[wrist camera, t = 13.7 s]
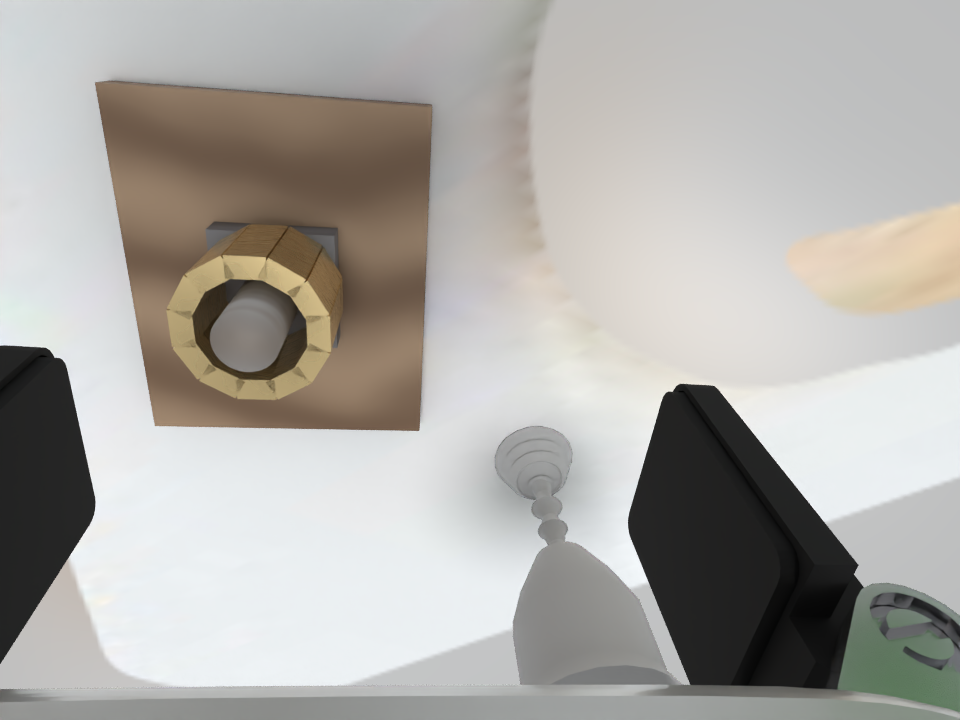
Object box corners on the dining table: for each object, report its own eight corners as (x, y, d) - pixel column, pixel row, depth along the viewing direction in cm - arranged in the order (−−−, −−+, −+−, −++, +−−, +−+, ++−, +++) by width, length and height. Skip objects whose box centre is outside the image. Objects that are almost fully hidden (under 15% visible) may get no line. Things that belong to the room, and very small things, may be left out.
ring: (196, 220, 30) (157, 252, 25) (341, 228, 31) (328, 260, 26) (212, 349, 33) (179, 397, 28) (343, 353, 34) (332, 401, 29)
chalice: (470, 497, 42) (501, 775, 26) (486, 409, 39) (531, 662, 23) (576, 504, 43) (668, 775, 27) (599, 419, 40) (717, 667, 24)
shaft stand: (109, 80, 30) (-6, 94, 22) (431, 104, 31) (435, 125, 23) (164, 412, 38) (95, 512, 30) (419, 417, 39) (419, 513, 31)
